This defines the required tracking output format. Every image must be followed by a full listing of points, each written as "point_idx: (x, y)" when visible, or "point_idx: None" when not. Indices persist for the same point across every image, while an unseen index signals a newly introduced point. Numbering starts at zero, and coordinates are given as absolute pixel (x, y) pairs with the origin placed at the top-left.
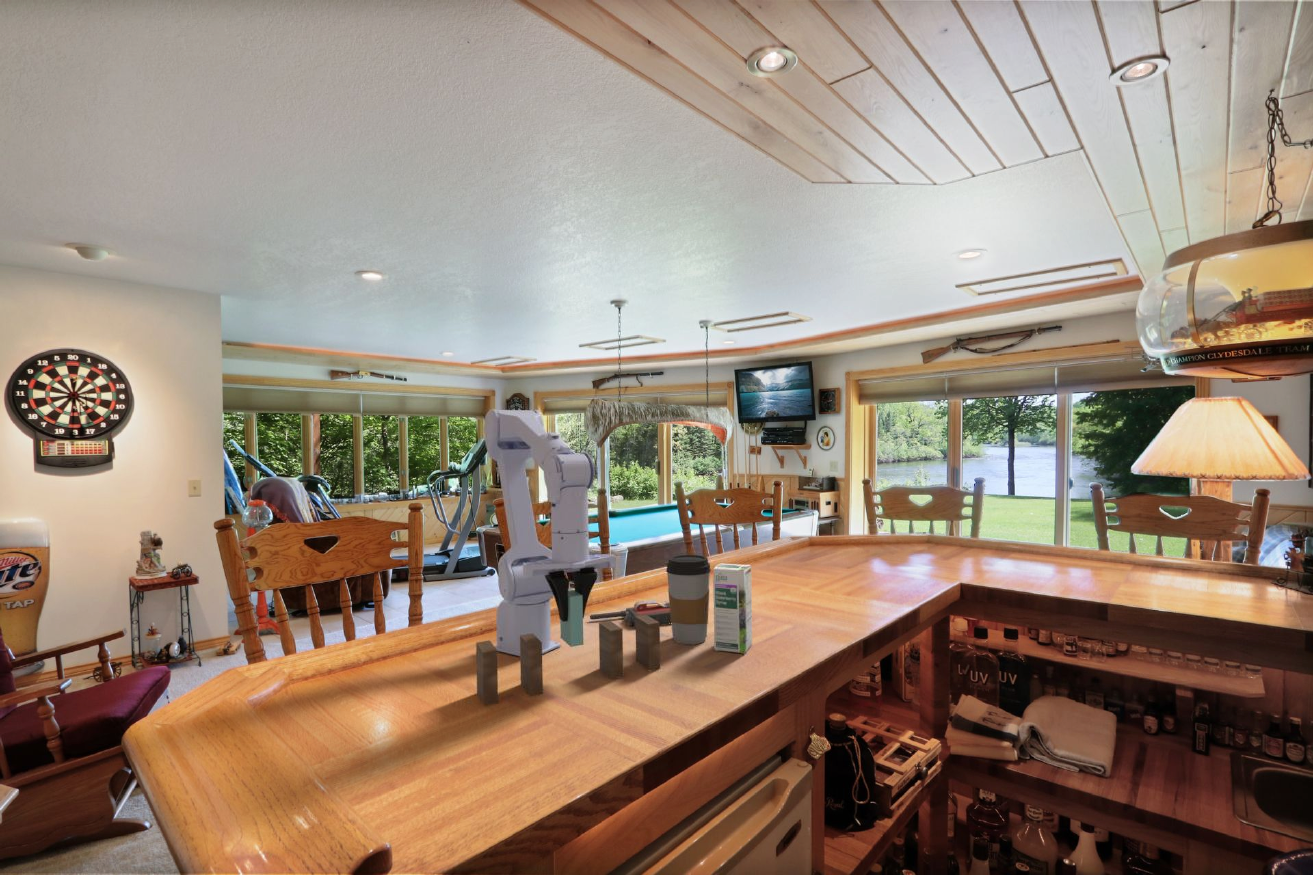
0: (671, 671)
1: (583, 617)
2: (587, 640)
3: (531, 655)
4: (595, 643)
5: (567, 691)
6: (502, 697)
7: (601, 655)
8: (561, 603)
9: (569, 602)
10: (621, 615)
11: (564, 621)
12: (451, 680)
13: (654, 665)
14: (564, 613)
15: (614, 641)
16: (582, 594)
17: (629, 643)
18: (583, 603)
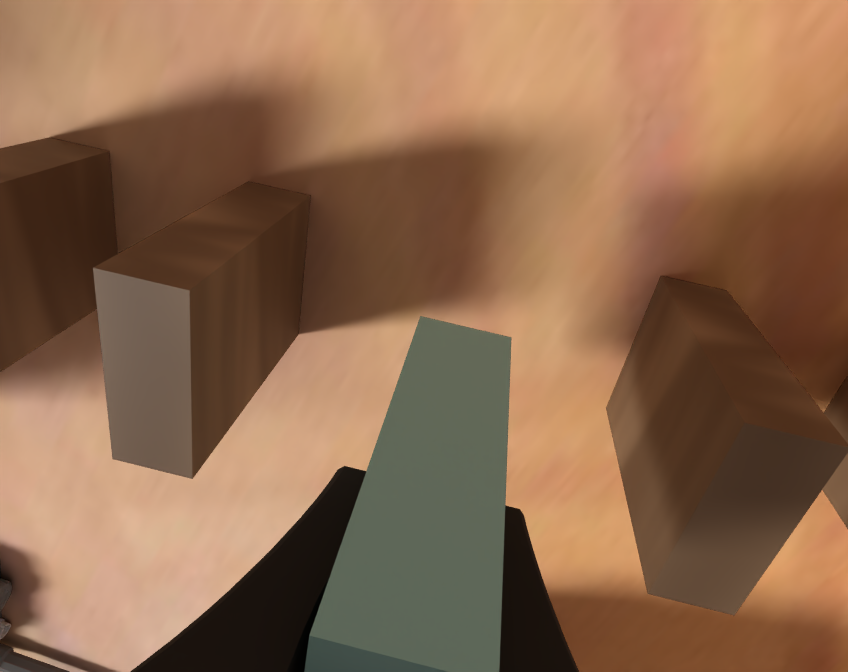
0: (9, 64)
1: (342, 469)
2: (209, 579)
3: (793, 394)
4: (195, 541)
5: (561, 214)
6: (820, 360)
7: (274, 345)
8: (571, 662)
9: (495, 622)
10: (9, 653)
11: (515, 508)
12: (828, 616)
13: (65, 149)
14: (525, 558)
15: (203, 252)
16: (285, 659)
17: (74, 460)
18: (307, 561)
